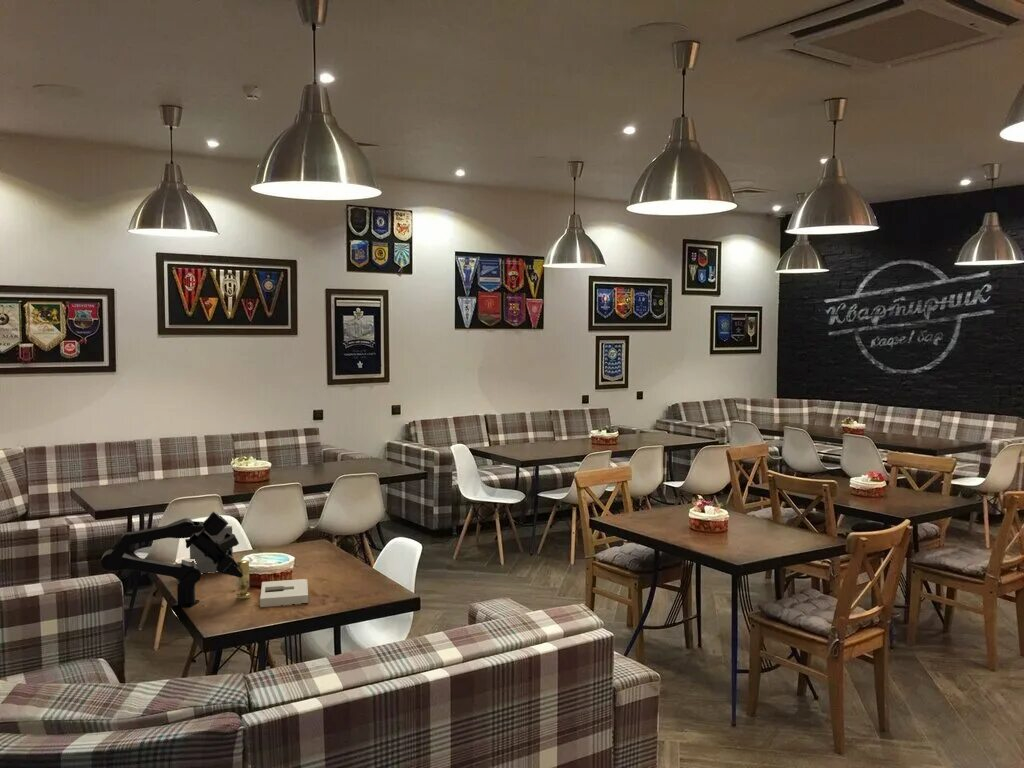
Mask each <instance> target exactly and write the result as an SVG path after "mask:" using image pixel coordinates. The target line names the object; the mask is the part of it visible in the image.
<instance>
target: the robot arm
mask: <svg viewBox="0 0 1024 768" xmlns="http://www.w3.org/2000/svg"><path fill="white" fill-rule="evenodd" d="M226 526H229V522H228V521H227V520H226V519H225V518H224V517H223V516H221V515H219V514H218V513H216V512H215V511H212V512H211V513H210V514H209V516H208V517H207V518H206V519H205V520H204V521H195V520H192V519H190V518H188V517H185V518H182V519H179V520H176V521H173V522H171V523H169V524H166V525H162V526H156V527H152V528H146V529H140V530H135V531H126V532H124V533H123V534H122V535H121V537H120V539H118V540H117V542H115V544H114V545H113V547H111V548H110V549H108V550H106V551H104V553H103V554H102V557H101V560H100V565H101V567H102V569H103V570H104V571H107V572H108V571H109V572H110V571H113V572H119V571H120V572H121V571H128V570H130V571H136V572H143V573H147V574H148V573H149V574H153V575H158V576H159V575H161V576H166V577H171V578H174V579H176V586H177V587H176V596H177V597H176V599H177V602H175V603H174V604H173V607H181V608H182V607H184V608H186V607H187V608H191V607H192V606H194V605H196V604H198V603H199V602H200V599H196V583H198V582H199V581H200V579H201V578H202V575H201V571H200V567H199V566H198V565H197V564H195V563H194V561H192V562H190V561H189V560H185V559H181V562H180V563H170V562H165V561H164V562H163V561H159V560H152V559H146V558H143V557H142V558H140V557H135V556H132V555H129V554H128V553H127V551H128V550H129V548H130V547H131V546H132V545H136V544H141V543H147V542H152V541H158V540H163V539H185V549H190V546H191V545H193V546H195V547H196V548H197V549H198V550H199V551H201V552H202V553H203V554H204V556H205V557H208V558H209V559H211V560H212V561H213V563H214V564H216V570H217V571H218V572H219V573H218V574H221V575H224V574H225V575H229V576H232V577H236V578H237V577H240V578H241V577H242V576H243V575H242V573H241V572H240V571H239V570H238V569H237V561H236V560H235V559H234V557H232V552H231V550H230V548H232V547H236V546H238V545H239V544H240V542H239V540H238V538H237V537H236V535H235V534H234V533H232V535H231V534H229V533H226V534H224V539H222V541H220V542H219V541H217V540H214V539H212V538H211V537H210V536H209V535H207V534H206V533H205V532H204V531H206V532H207V533H208V534H210V535H211V536H215V535H216V536H217V535H218V534H219V533H220V532H221V531H222V530H223V529H224V528H225V527H226ZM198 532H199V533H198ZM193 534H194V535H193ZM192 535H193V536H192ZM191 536H192V537H191ZM190 537H191V538H190ZM227 550H229V551H227Z"/></svg>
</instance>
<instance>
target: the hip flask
mask: <svg viewBox="0 0 1024 768" xmlns="http://www.w3.org/2000/svg"><path fill="white" fill-rule="evenodd" d="M204 532H205V533H206V534H207V535H209V536H210V537H211V538H212V539H214V540H217V541H219V542H220V541H222V539H224V534H226V533H229V534H231V535H232V534H233V526H232V525H227V526H226V527H225V528H224V529H223V530H222V531H221V532H220V533H219V534H218V535H217V536H216V535H215V536H211V535H210V534H208V533H207V532H206V531H204ZM198 533H199V532H198ZM193 535H194V534H193ZM193 535H192V536H193ZM192 536H191V537H192ZM191 537H189V539H190V538H191ZM230 550H231V552H232V557H233V556H234V554H233V553H234V550H233V547H232V548H230ZM227 551H229V550H227ZM233 558H234V557H233ZM190 559H195V561H196V563H197V565H198V566H199V567H200V571H201V573H208V572H216V571H217V570H216V564H214V563H213V561H212V560H211V559H209V558H208V557H205V556H204V554H203V553H202V552H201V551H199V550H198V549H197V548H196V547H195V546H193V545H191V546H190V547H189V560H190Z"/></svg>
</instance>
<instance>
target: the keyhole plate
mask: <svg viewBox="0 0 1024 768" xmlns="http://www.w3.org/2000/svg"><path fill="white" fill-rule="evenodd" d="M260 588H261V590H260V597H259V600H260V602H259V604H260V605H259V606H260V608H267V607H269V608H270V607H279V606H280V607H282V606H281V605H283V606H293V605H292V604H295V605H302V604H301V603H308V604H309V591H308V578H299V579H287V580H285V579H284V580H272V581H271V580H270V581H261V587H260Z"/></svg>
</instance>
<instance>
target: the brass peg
mask: <svg viewBox="0 0 1024 768" xmlns="http://www.w3.org/2000/svg"><path fill="white" fill-rule="evenodd" d="M236 563H237V569H238V570H239V571H240V572H241V573H242V575H243V576H242V577H241V578H240V577H236V578H237V589H238V590H239V592H238V593H237V594H236V599H237V600H239V599H240V600H239V601H241V600H242V601H244V600H248V599H251V597H252V593H251V592H248V589H249V588H250V560H247V559H246V560H245V559H243V560H238V561H236Z"/></svg>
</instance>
